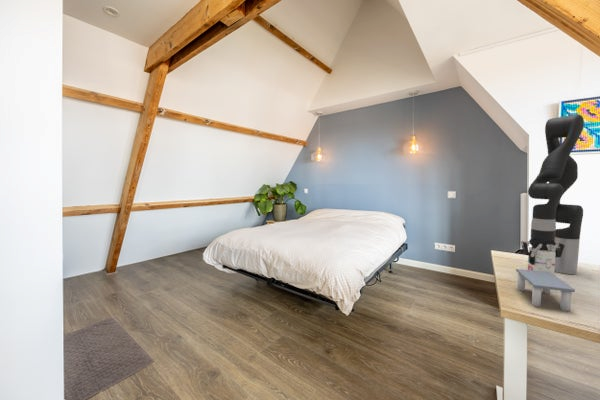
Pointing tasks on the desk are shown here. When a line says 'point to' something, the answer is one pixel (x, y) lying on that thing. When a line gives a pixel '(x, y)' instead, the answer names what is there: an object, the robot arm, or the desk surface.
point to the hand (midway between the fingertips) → (540, 264)
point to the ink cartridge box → (543, 260)
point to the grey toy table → (544, 286)
